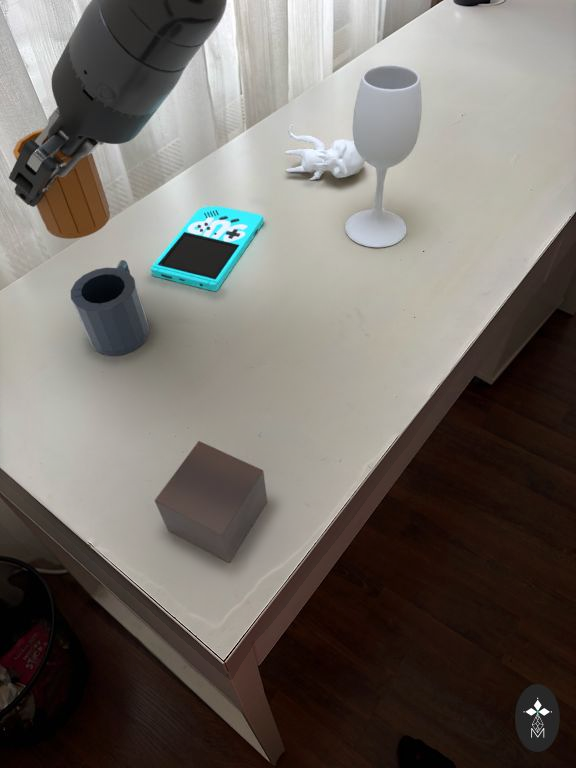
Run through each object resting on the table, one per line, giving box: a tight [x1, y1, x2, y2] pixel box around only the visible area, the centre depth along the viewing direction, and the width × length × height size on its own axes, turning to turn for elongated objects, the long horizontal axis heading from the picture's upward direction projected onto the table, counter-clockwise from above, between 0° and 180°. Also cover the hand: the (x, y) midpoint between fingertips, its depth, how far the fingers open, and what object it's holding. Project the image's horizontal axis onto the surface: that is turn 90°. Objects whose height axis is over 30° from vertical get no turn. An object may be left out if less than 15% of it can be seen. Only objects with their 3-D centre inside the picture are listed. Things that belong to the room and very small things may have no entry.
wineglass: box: [344, 64, 423, 248], centre depth 76 cm, size 9×9×21 cm
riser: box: [154, 440, 268, 564], centre depth 55 cm, size 7×7×6 cm
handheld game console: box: [150, 205, 264, 292], centre depth 82 cm, size 10×16×1 cm, turn 158°
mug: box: [70, 259, 150, 357], centre depth 71 cm, size 10×7×8 cm
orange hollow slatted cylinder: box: [12, 128, 111, 240], centre depth 56 cm, size 6×6×8 cm
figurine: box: [284, 123, 366, 181], centre depth 91 cm, size 8×9×12 cm
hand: (49, 177), depth 57 cm, fingers closed on orange hollow slatted cylinder, 6 cm apart
